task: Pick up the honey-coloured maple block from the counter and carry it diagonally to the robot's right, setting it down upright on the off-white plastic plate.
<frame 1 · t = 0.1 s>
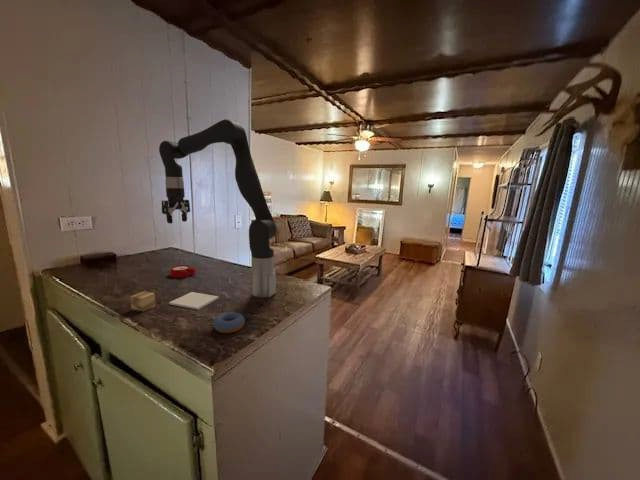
hand: (177, 222, 129), 29 cm above the worktop, tool pointing down, fingers open, 8 cm apart
maple block: (144, 308, 105), on the worktop
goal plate: (194, 301, 112), on the worktop
alarm clock: (183, 275, 145), on the worktop
doughnut: (229, 328, 92), on the worktop
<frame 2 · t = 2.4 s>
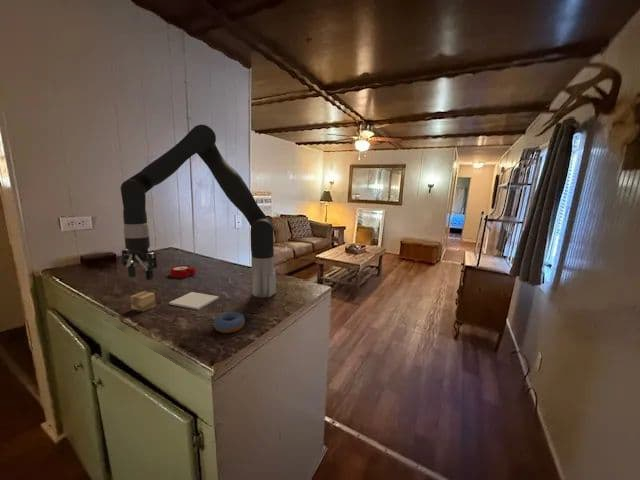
hand: (140, 278, 103), 12 cm above the worktop, tool pointing down, fingers open, 8 cm apart
nothing on the worktop moved.
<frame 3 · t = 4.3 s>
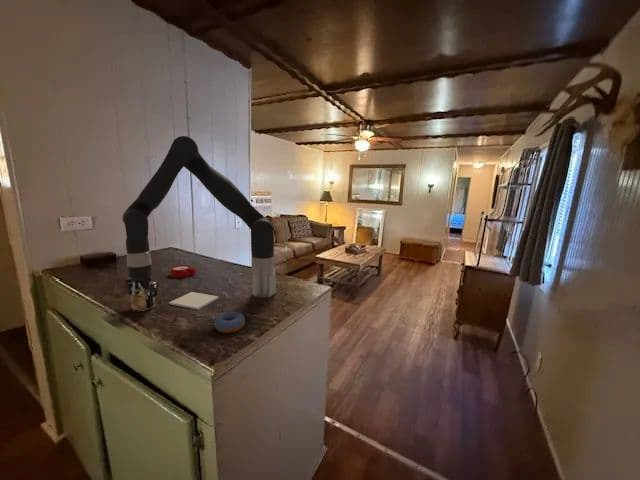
hand: (143, 306, 105), 1 cm above the worktop, tool pointing down, fingers closed on maple block, 5 cm apart
maple block: (144, 308, 105), on the worktop, touching gripper
everything else where it was.
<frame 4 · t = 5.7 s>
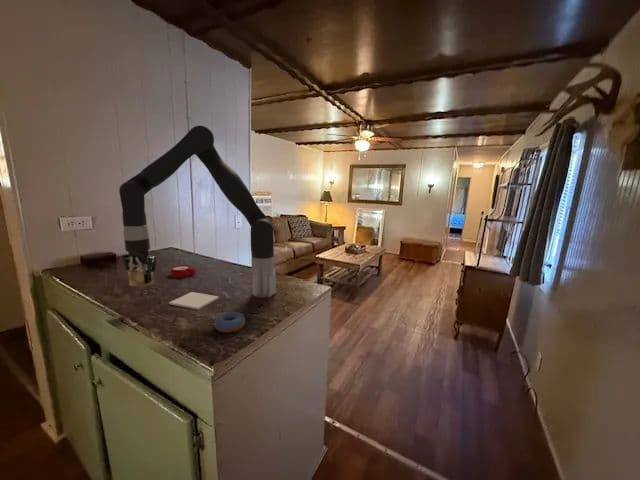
hand: (141, 282, 103), 10 cm above the worktop, tool pointing down, fingers closed on maple block, 5 cm apart
maple block: (142, 284, 103), point 10 cm above the worktop, touching gripper
everything else where it was.
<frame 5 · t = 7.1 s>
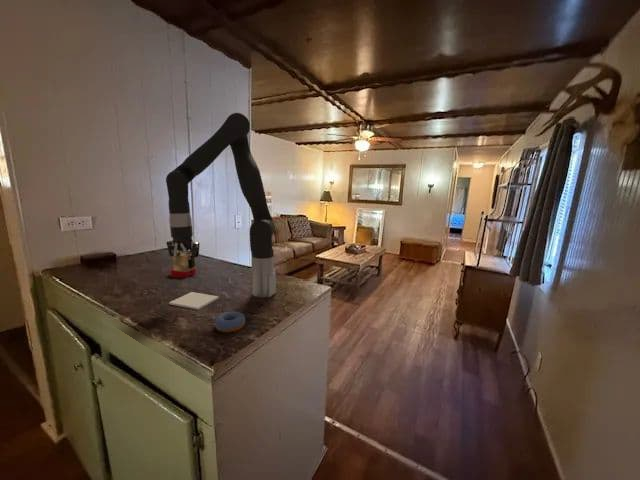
hand: (185, 267, 108), 15 cm above the worktop, tool pointing down, fingers closed on maple block, 5 cm apart
maple block: (185, 269, 108), point 14 cm above the worktop, touching gripper
everything else where it was.
when the fingers open (3 cm above the worktop, at t = 10.7 s): maple block drops 1 cm, resting on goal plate.
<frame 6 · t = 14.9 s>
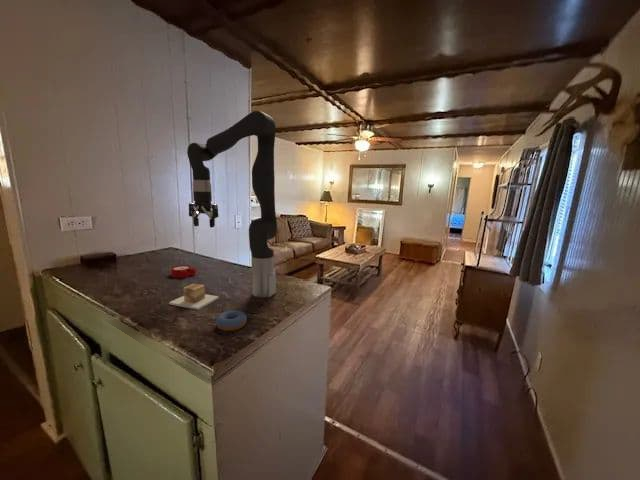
hand: (204, 226, 125), 28 cm above the worktop, tool pointing down, fingers open, 8 cm apart
maple block: (194, 299, 112), point 1 cm above the worktop, touching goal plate
at the end: maple block inside the target area on the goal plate (0.1 cm from its centre), point 0.8 cm above the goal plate's base; maple block tilted 0°; the gripper is holding nothing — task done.
